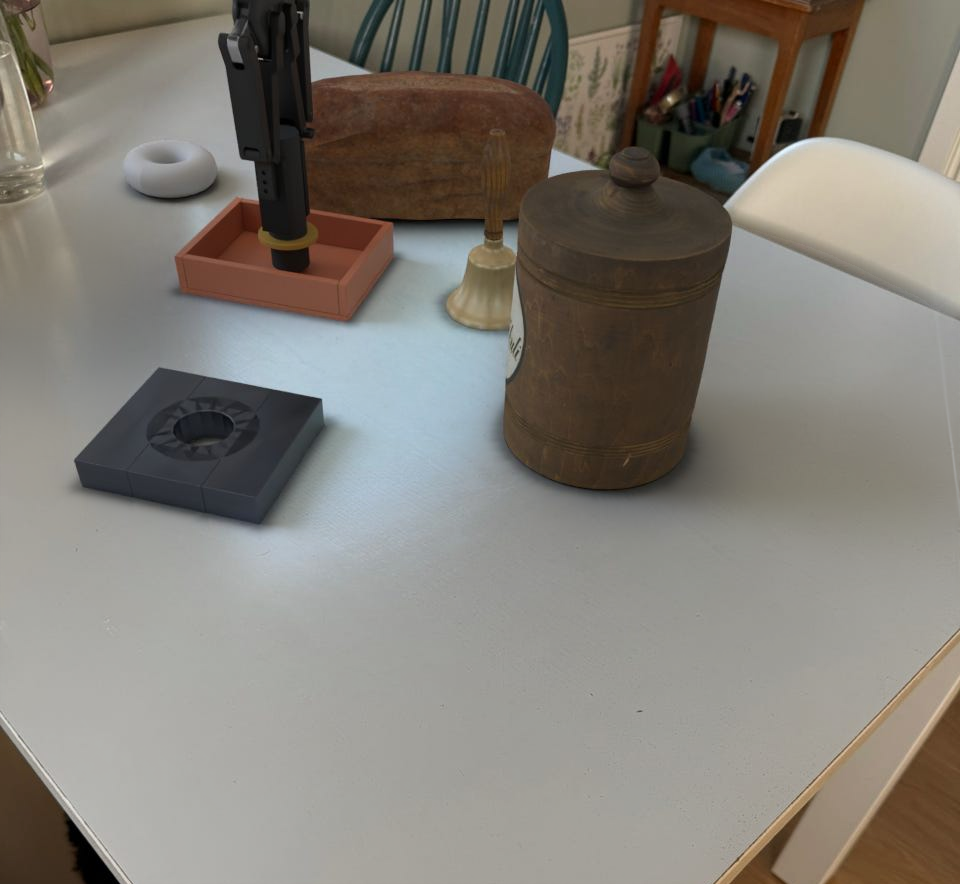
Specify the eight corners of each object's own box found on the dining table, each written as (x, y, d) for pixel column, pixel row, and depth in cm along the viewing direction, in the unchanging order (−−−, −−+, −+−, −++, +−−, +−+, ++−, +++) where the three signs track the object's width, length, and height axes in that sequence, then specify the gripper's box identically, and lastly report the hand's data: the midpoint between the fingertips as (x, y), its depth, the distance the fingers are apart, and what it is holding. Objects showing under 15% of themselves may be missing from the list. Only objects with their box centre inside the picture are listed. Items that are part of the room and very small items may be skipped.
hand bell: (516, 339, 89) (531, 157, 78) (432, 319, 91) (434, 138, 79) (544, 298, 95) (562, 122, 83) (464, 280, 96) (470, 105, 85)
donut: (231, 172, 112) (145, 161, 112) (227, 140, 109) (140, 129, 110) (202, 209, 105) (111, 197, 105) (197, 176, 102) (104, 164, 103)
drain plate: (82, 487, 72) (73, 459, 70) (164, 393, 81) (158, 366, 79) (259, 525, 70) (255, 497, 68) (324, 424, 79) (322, 398, 77)
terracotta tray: (181, 292, 92) (173, 255, 90) (240, 231, 101) (236, 196, 99) (347, 322, 90) (345, 285, 87) (394, 257, 99) (393, 222, 96)
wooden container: (563, 365, 87) (596, 95, 71) (715, 427, 81) (788, 149, 65) (465, 442, 78) (477, 155, 62) (627, 517, 73) (686, 223, 57)
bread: (555, 231, 105) (568, 108, 96) (288, 231, 102) (275, 104, 93) (537, 178, 114) (547, 61, 105) (292, 176, 111) (281, 56, 102)
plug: (252, 271, 93) (234, 138, 84) (275, 246, 97) (260, 116, 88) (307, 281, 92) (295, 148, 84) (328, 255, 96) (319, 125, 87)
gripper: (257, -53, 69) (290, 267, 86) (340, -100, 80) (354, 192, 97) (158, -65, 70) (210, 254, 87) (254, -110, 81) (283, 181, 98)
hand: (286, 221), depth 92 cm, fingers closed on plug, 4 cm apart
